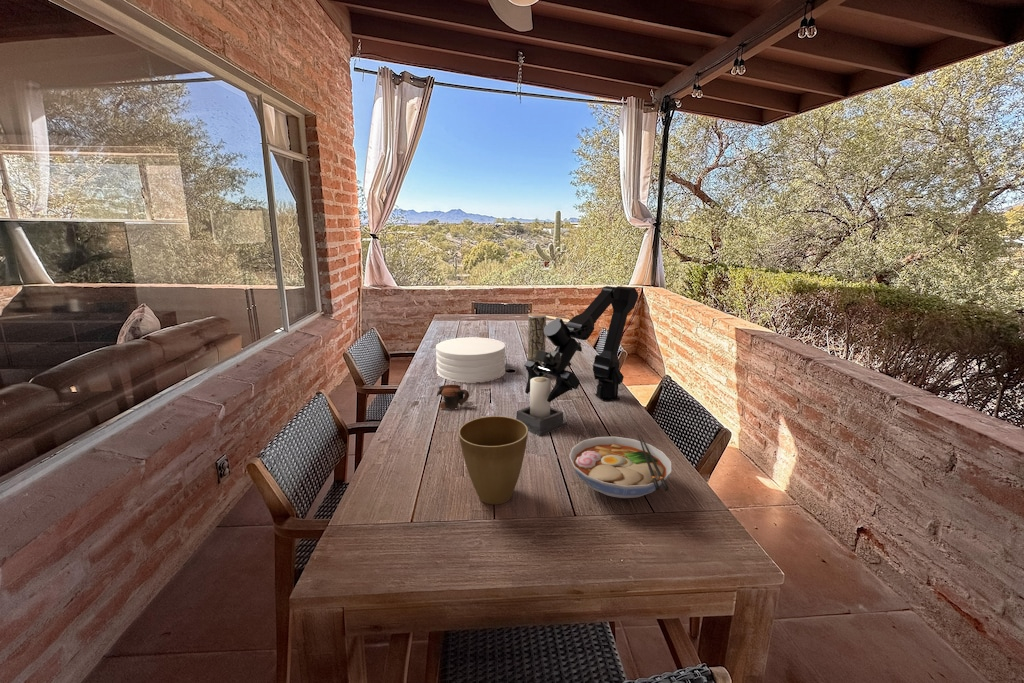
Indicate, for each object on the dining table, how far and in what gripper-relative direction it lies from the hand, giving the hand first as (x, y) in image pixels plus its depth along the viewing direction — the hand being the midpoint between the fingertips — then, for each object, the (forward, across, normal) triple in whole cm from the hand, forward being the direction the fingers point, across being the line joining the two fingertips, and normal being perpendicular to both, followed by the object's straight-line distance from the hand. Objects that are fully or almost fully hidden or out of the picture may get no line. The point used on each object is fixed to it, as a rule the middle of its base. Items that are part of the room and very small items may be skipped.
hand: (536, 397), depth 136 cm
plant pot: (+30, +20, -17) cm, 40 cm away
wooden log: (-17, -33, +30) cm, 48 cm away
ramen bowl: (+14, +36, 0) cm, 39 cm away
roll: (+5, 0, +7) cm, 8 cm away
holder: (+5, 0, +7) cm, 9 cm away
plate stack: (-5, -55, +18) cm, 58 cm away
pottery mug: (+13, -30, 0) cm, 33 cm away
